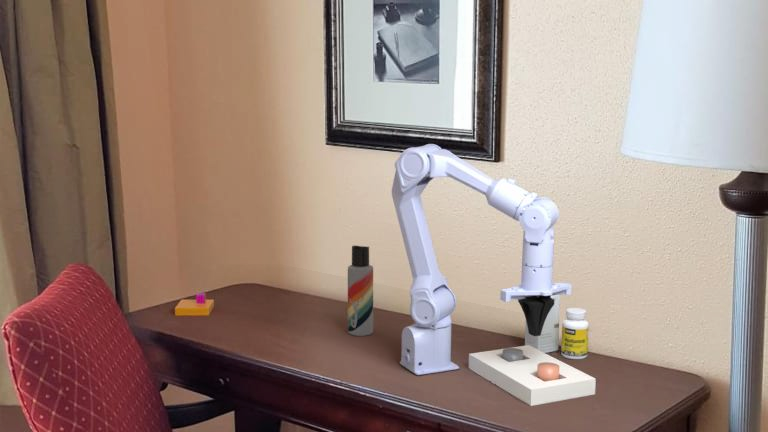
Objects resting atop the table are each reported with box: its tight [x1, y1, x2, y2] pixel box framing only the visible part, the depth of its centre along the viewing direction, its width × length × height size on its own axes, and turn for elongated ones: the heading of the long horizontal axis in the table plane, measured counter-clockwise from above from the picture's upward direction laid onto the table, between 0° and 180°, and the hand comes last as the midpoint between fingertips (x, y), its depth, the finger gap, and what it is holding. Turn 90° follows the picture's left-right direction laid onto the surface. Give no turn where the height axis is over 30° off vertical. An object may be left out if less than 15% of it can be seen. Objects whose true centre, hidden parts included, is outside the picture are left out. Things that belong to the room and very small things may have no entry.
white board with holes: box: [468, 345, 597, 407], centre depth 177 cm, size 14×22×3 cm, turn 25°
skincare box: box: [524, 295, 561, 354], centre depth 195 cm, size 6×4×12 cm
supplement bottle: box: [560, 307, 590, 360], centre depth 192 cm, size 5×5×10 cm
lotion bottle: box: [347, 245, 374, 337], centre depth 206 cm, size 6×6×20 cm
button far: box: [502, 347, 523, 362], centre depth 182 cm, size 4×4×4 cm
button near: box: [537, 362, 559, 382], centre depth 172 cm, size 4×4×4 cm
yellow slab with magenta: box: [174, 292, 215, 316], centre depth 225 cm, size 8×8×4 cm
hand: (534, 334), depth 175 cm, fingers closed
